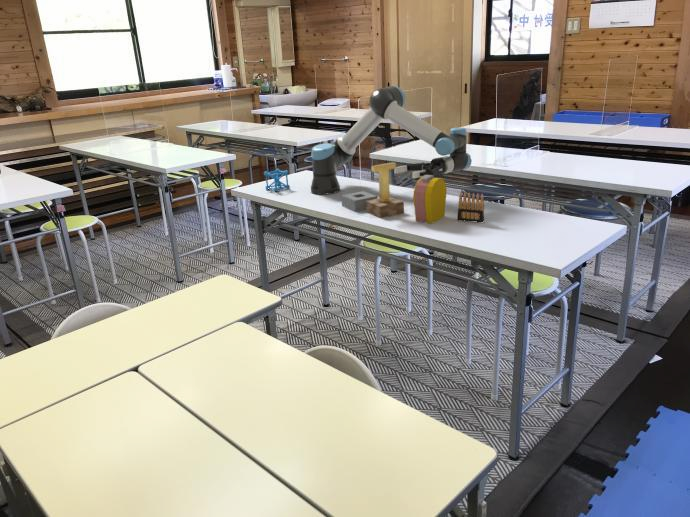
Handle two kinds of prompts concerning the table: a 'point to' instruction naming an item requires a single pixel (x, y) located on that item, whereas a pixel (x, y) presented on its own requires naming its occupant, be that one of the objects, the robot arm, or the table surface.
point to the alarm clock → (429, 199)
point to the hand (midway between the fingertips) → (403, 172)
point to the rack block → (357, 200)
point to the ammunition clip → (471, 208)
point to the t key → (384, 180)
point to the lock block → (384, 207)
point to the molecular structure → (276, 179)
